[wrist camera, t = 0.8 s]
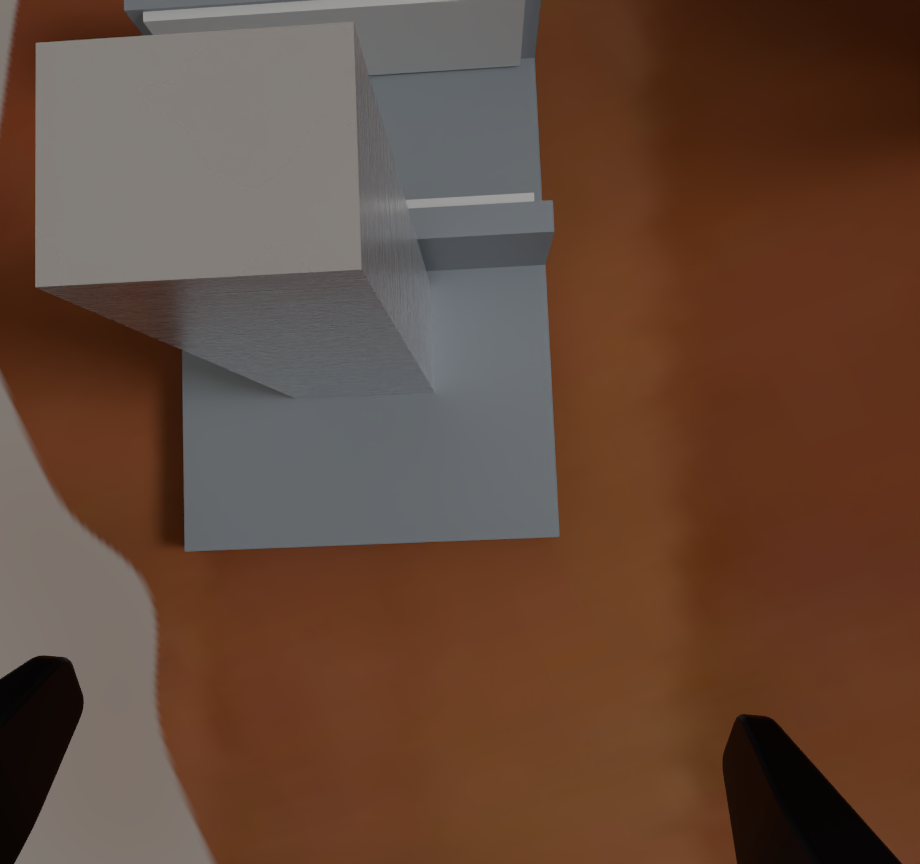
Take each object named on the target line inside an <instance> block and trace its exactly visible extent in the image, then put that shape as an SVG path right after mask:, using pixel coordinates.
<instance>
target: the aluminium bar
mask: <svg viewBox="0 0 920 864" xmlns="http://www.w3.org/2000/svg"><path fill="white" fill-rule="evenodd" d="M35 287H36V288H38V289H41V290H43V291H45V292H48V293H50V294H52V295H55V296H57V297H59V298H62V299H64V300H66V301H69V302H71V303H74V304H76V305H78V306H81V307H83V308H85V309H88V310H90V311H92V312H95V313H97V314H99V315H102V316H104V317H106V318H109V319H111V320H113V321H116V322H118V323H120V324H123V325H125V326H127V327H130V328H132V329H134V330H137V331H139V332H141V333H144V334H146V335H148V336H151V337H153V338H155V339H158V340H160V341H162V342H165V343H167V344H169V345H172V346H174V347H176V348H179V349H181V350H183V351H186V352H188V353H190V354H193V355H195V356H197V357H200V358H202V359H204V360H207V361H209V362H211V363H214V364H216V365H218V366H221V367H223V368H225V369H228V370H230V371H232V372H235V373H237V374H239V375H242V376H244V377H246V378H249V379H251V380H253V381H256V382H258V383H260V384H263V385H265V386H267V387H270V388H272V389H274V390H277V391H279V392H281V393H284V394H286V395H288V396H291V397H293V398H295V399H307V398H328V397H349V396H371V395H392V394H413V393H435V383H434V358H433V333H432V308H431V285H430V282H429V279H428V275H427V272H426V268H425V265H424V261H423V258H422V255H421V251H420V248H419V244H418V241H417V237H416V234H415V231H414V227H413V224H412V220H411V217H410V213H409V210H408V207H407V203H406V200H405V196H404V193H403V189H402V186H401V183H400V179H399V176H398V172H397V169H396V165H395V162H394V159H393V155H392V152H391V148H390V145H389V142H388V138H387V135H386V131H385V128H384V124H383V121H382V118H381V114H380V111H379V107H378V104H377V100H376V97H375V94H374V90H373V87H372V83H371V80H370V76H369V73H368V70H367V66H366V63H365V59H364V56H363V52H362V49H361V46H360V42H359V39H358V35H357V32H356V28H355V25H354V22H340V23H325V24H310V25H295V26H281V27H266V28H251V29H236V30H221V31H206V32H191V33H176V34H161V35H146V36H131V37H116V38H101V39H86V40H71V41H57V42H42V43H36V203H35Z"/></svg>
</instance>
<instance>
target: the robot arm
mask: <svg viewBox="0 0 920 864" xmlns="http://www.w3.org/2000/svg"><path fill="white" fill-rule="evenodd" d="M83 704H84V703H83V694H82V691H81V688H80V686H79V682H78V679H77V677H76V674H75V671H74V668H73V665H72V663H71V661H70V660H68V659H67V658H64V657H55V656H37V657H34V658H32V659H30V660H29V661H27V662H26V663H24V664H23V665H21V666H19V667H18V668H17V669H15V670H13V671H12V672H10V673H9V674H7V675H6V676H4V677H3V678H1V679H0V864H14V863H15V861H16V859H17V857H18V855H19V854H20V852H21V850H22V848H23V846H24V844H25V842H26V840H27V838H28V836H29V834H30V832H31V830H32V829H33V827H34V824H35V822H36V820H37V817H38V815H39V813H40V811H41V809H42V807H43V804H44V802H45V800H46V797H47V795H48V792H49V790H50V788H51V785H52V783H53V780H54V778H55V776H56V774H57V771H58V769H59V767H60V764H61V762H62V759H63V757H64V754H65V752H66V750H67V748H68V745H69V743H70V740H71V738H72V736H73V734H74V731H75V729H76V726H77V724H78V722H79V719H80V717H81V714H82V710H83ZM722 765H723V775H724V782H725V788H726V795H727V801H728V808H729V814H730V820H731V827H732V833H733V840H734V846H735V853H736V859H737V864H902V863H901V862H900V861H899V860H898V859H897V858H896V856H895V855H894V854H893V853H892V852H891V851H890V850H889V849H888V847H887V846H886V845H885V844H884V843H883V842H882V841H881V840H880V838H879V837H878V836H877V835H876V834H875V833H874V832H873V831H872V829H871V828H870V827H869V826H868V825H867V824H866V823H865V822H864V820H863V819H862V818H861V817H860V816H859V815H858V814H857V813H856V811H855V810H854V809H853V808H852V807H851V806H850V805H849V804H848V802H847V801H846V800H845V799H844V798H843V797H842V796H841V795H840V793H839V792H838V791H837V790H836V789H835V788H834V787H833V786H832V784H831V783H830V782H829V781H828V780H827V779H826V778H825V777H824V775H823V774H822V773H821V772H820V771H819V770H818V769H817V768H816V766H815V765H814V764H813V763H812V762H811V761H810V760H809V759H808V757H807V756H806V755H805V754H804V753H803V752H802V751H801V750H800V748H799V747H798V746H797V745H796V744H795V743H794V742H793V741H792V739H791V738H790V737H789V736H788V735H787V734H786V733H785V732H784V730H783V729H782V728H781V727H780V726H779V725H778V724H777V723H776V722H775V721H774V720H773V719H771V718H769V717H766V716H758V715H746V714H742V715H739V716H738V717H737V718H736V720H735V722H734V724H733V727H732V730H731V733H730V736H729V739H728V741H727V744H726V747H725V750H724V753H723V763H722Z"/></svg>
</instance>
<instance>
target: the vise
mask: <svg viewBox="0 0 920 864" xmlns="http://www.w3.org/2000/svg"><path fill="white" fill-rule="evenodd" d="M540 5H541V0H124V11H125V12H126V14H127V15H128V16H129V18H130V19H131V20H132V21H133V23H134V24H135V25H136V27H137V28H138V29H139V31H140V32H141V33H142V34H143V36H146V35H161V34H176V33H191V32H206V31H221V30H236V29H251V28H266V27H281V26H295V25H310V24H325V23H340V22H354V25H355V28H356V32H357V35H358V39H359V42H360V46H361V49H362V52H363V56H364V59H365V63H366V66H367V70H368V73H369V76H370V80H371V83H372V87H373V90H374V94H375V97H376V100H377V104H378V107H379V111H380V114H381V118H382V121H383V124H384V128H385V131H386V135H387V138H388V142H389V145H390V148H391V152H392V155H393V159H394V162H395V165H396V169H397V172H398V176H399V179H400V183H401V186H402V189H403V193H404V196H405V200H406V203H407V207H408V210H409V213H410V217H411V220H412V224H413V227H414V231H415V234H416V237H417V241H418V244H419V248H420V251H421V255H422V258H423V261H424V265H425V268H426V272H427V275H428V279H429V282H430V285H431V308H432V333H433V358H434V383H435V393H413V394H392V395H371V396H349V397H328V398H307V399H295V398H293V397H291V396H288V395H286V394H284V393H281V392H279V391H277V390H274V389H272V388H270V387H267V386H265V385H263V384H260V383H258V382H256V381H253V380H251V379H249V378H246V377H244V376H242V375H239V374H237V373H235V372H232V371H230V370H228V369H225V368H223V367H221V366H218V365H216V364H214V363H211V362H209V361H207V360H204V359H202V358H200V357H197V356H195V355H193V354H190V353H188V352H186V351H183V350H182V387H183V463H184V538H185V551H210V550H236V549H261V548H287V547H313V546H338V545H364V544H389V543H415V542H441V541H466V540H492V539H517V538H543V537H560V536H559V517H558V498H557V479H556V459H555V440H554V421H553V402H552V382H551V363H550V344H549V325H548V306H547V286H546V267H545V264H546V261H547V257H548V253H549V249H550V246H551V242H552V238H553V234H554V217H553V200H551V201H542V190H541V171H540V152H539V132H538V113H537V94H536V75H535V50H536V41H537V32H538V23H539V14H540Z"/></svg>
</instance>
